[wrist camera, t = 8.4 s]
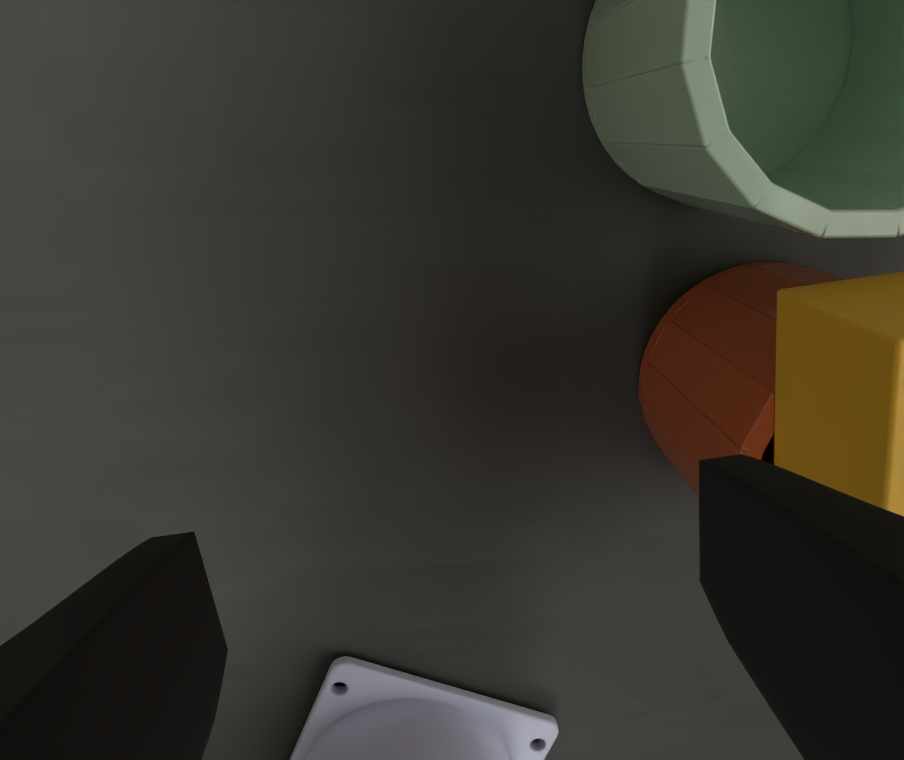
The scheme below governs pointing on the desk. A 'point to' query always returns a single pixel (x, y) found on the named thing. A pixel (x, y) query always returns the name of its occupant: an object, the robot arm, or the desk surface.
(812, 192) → the celadon cup
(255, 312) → the desk surface
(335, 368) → the desk surface
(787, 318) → the coffee packet
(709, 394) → the terracotta cup
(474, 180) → the desk surface
